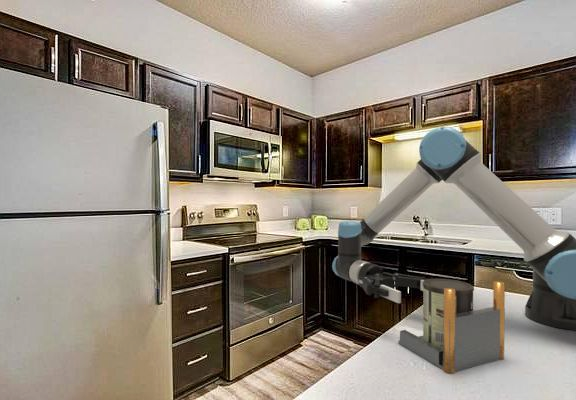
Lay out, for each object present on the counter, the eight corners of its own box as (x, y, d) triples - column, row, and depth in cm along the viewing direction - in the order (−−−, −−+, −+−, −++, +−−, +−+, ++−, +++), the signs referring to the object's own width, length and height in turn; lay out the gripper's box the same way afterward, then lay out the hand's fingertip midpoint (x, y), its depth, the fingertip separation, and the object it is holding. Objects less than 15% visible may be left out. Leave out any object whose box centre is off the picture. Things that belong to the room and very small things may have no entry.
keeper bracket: (449, 332, 81) (449, 269, 81) (506, 358, 68) (506, 283, 68) (397, 343, 75) (398, 274, 75) (449, 374, 62) (450, 291, 62)
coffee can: (464, 338, 76) (464, 279, 76) (481, 360, 66) (481, 291, 66) (418, 334, 78) (418, 277, 78) (427, 354, 68) (428, 288, 68)
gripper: (399, 283, 103) (457, 303, 84) (332, 291, 93) (380, 316, 74) (399, 259, 103) (457, 274, 84) (332, 265, 93) (380, 284, 74)
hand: (421, 294), depth 79 cm, fingers open, 13 cm apart
